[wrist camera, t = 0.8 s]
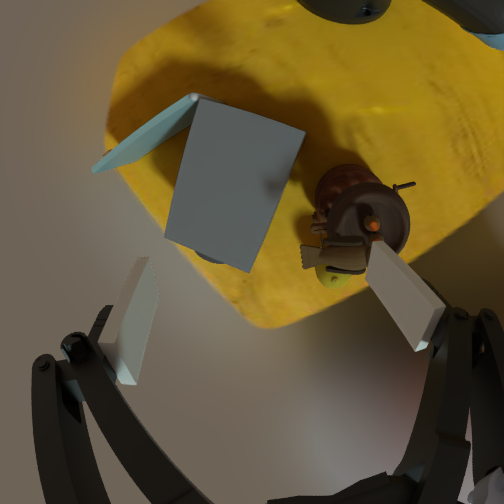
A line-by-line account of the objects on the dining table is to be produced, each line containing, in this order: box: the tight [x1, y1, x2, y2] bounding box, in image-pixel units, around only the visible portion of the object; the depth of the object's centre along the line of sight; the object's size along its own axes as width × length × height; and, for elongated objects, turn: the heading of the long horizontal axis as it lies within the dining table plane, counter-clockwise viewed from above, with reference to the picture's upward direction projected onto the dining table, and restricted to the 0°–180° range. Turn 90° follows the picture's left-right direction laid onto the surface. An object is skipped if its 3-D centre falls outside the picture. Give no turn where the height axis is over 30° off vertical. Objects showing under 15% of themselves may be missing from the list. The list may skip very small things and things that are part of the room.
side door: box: [91, 92, 225, 174], centre depth 34 cm, size 19×2×11 cm, turn 116°
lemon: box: [315, 263, 351, 289], centre depth 39 cm, size 6×6×8 cm
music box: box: [300, 164, 416, 275], centre depth 29 cm, size 15×11×20 cm
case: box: [164, 99, 307, 273], centre depth 35 cm, size 20×12×11 cm, turn 161°
